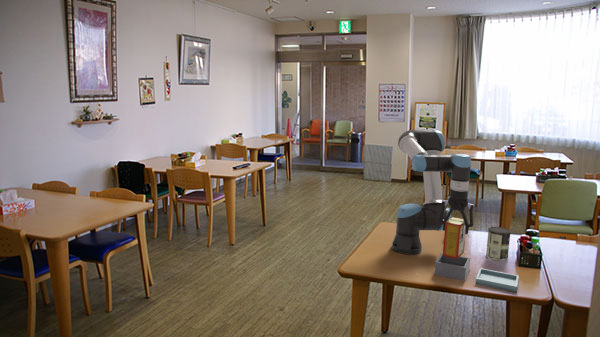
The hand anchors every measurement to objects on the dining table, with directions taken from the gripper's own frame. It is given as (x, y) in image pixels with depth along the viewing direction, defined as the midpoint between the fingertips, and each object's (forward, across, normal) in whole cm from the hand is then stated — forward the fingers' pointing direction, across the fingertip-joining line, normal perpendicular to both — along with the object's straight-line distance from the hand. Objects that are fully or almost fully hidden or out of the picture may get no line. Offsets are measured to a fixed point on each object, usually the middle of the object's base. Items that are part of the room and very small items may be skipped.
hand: (454, 239), depth 205 cm
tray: (+16, +19, -1) cm, 25 cm away
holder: (+16, 0, 0) cm, 16 cm away
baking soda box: (+7, 0, 0) cm, 7 cm away
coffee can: (+16, +16, +32) cm, 39 cm away
